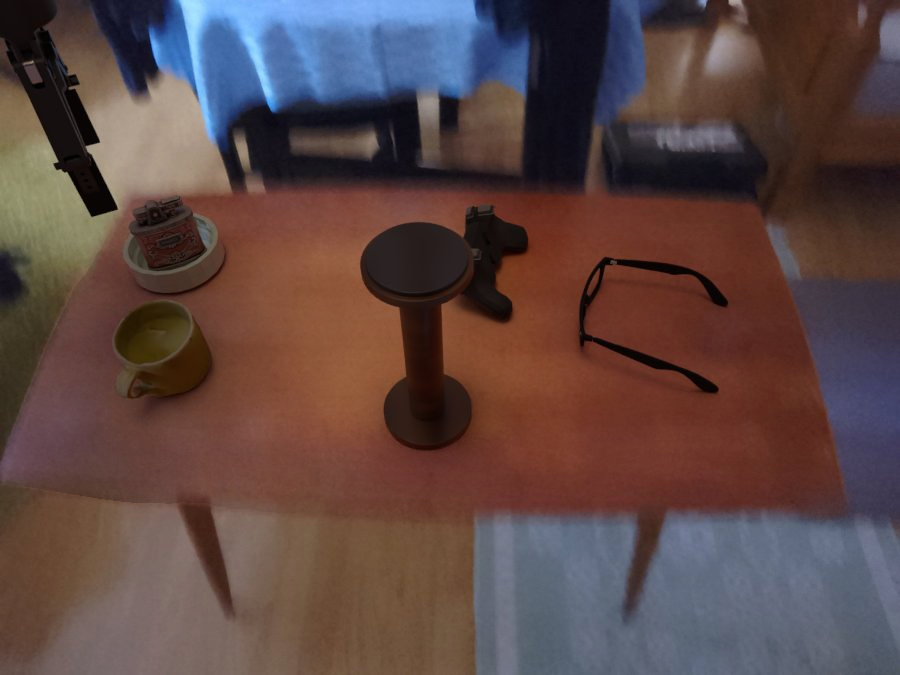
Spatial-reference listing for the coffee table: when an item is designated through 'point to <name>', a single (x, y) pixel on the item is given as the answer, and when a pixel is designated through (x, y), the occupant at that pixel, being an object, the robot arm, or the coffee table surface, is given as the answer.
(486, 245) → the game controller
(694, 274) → the glasses
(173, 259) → the lighter
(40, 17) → the robot arm
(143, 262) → the bowl
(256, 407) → the coffee table surface
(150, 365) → the mug
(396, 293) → the stand
